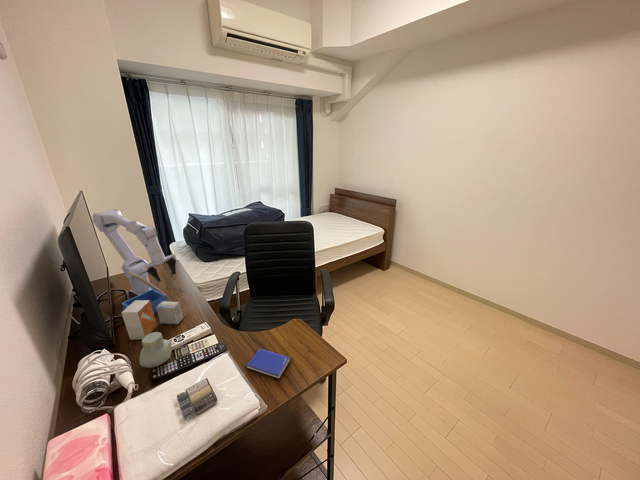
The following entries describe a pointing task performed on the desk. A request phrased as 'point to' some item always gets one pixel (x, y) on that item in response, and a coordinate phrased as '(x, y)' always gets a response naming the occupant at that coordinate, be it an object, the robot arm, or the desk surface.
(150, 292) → the case
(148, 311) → the small box
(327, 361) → the desk surface
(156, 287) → the lid
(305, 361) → the desk surface
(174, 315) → the medicine box
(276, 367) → the hard drive
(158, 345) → the air freshener
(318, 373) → the desk surface
